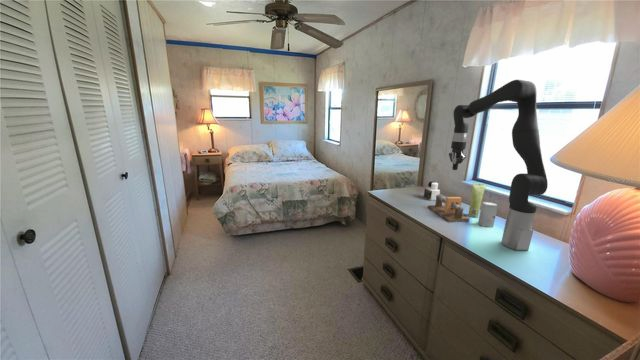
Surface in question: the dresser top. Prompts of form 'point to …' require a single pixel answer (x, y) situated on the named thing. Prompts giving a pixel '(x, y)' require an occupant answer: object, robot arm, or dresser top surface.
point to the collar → (451, 200)
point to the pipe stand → (450, 217)
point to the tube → (476, 199)
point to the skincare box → (487, 214)
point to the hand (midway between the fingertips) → (454, 169)
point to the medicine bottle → (431, 191)
